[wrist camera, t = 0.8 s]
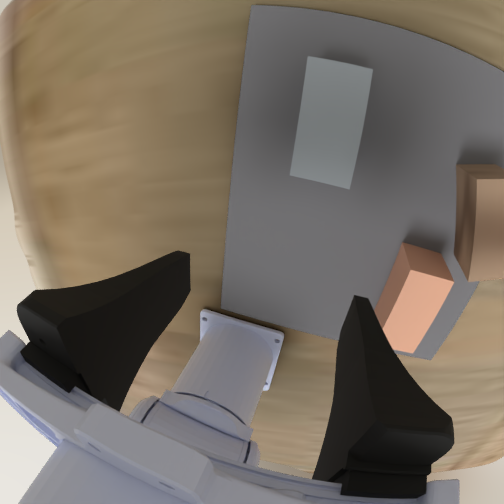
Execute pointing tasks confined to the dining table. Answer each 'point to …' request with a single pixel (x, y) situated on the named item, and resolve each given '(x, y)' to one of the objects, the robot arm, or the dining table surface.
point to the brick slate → (330, 121)
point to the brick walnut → (480, 221)
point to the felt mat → (364, 176)
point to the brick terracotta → (412, 296)
